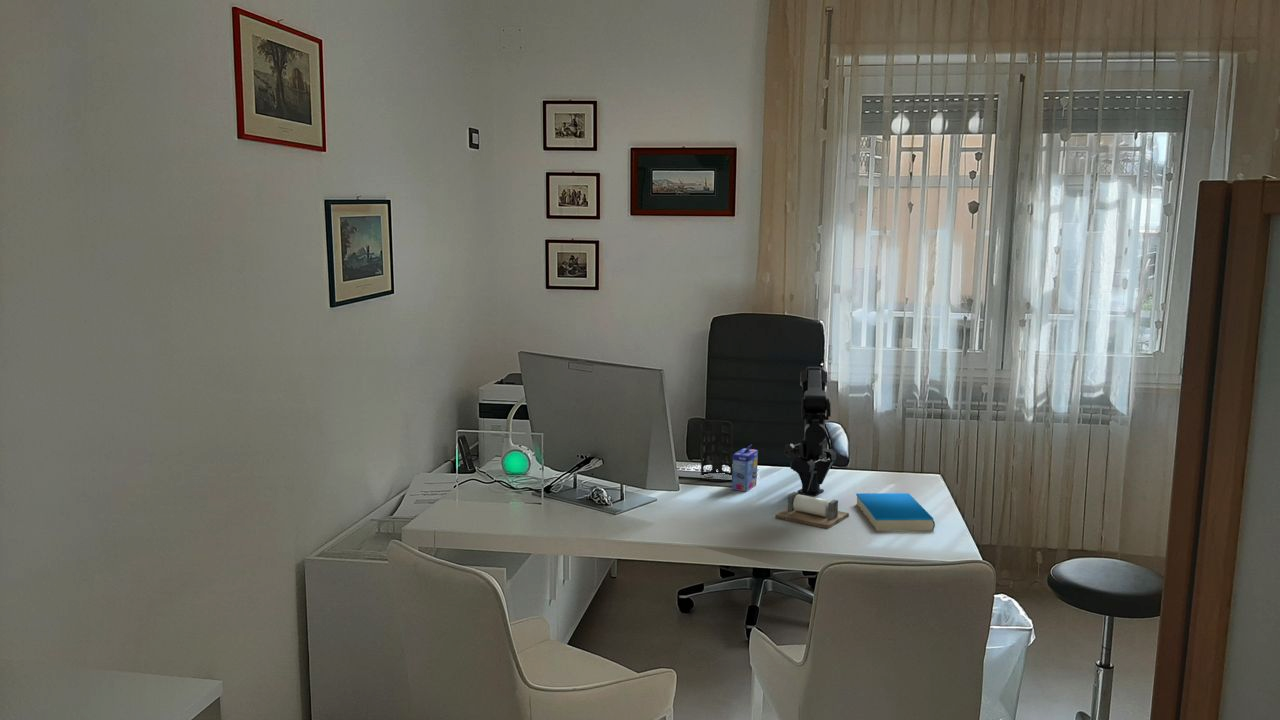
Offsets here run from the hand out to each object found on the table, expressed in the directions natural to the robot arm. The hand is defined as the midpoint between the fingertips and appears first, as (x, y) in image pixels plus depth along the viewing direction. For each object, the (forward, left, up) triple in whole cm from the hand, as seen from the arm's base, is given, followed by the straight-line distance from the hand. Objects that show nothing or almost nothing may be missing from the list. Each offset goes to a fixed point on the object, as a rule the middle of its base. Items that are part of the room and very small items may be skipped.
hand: (813, 487), depth 280 cm
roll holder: (0, 0, -9) cm, 9 cm away
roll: (0, 0, -8) cm, 8 cm away
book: (-15, +19, -10) cm, 26 cm away
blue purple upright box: (-15, -32, -9) cm, 37 cm away
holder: (-18, -45, -9) cm, 49 cm away
